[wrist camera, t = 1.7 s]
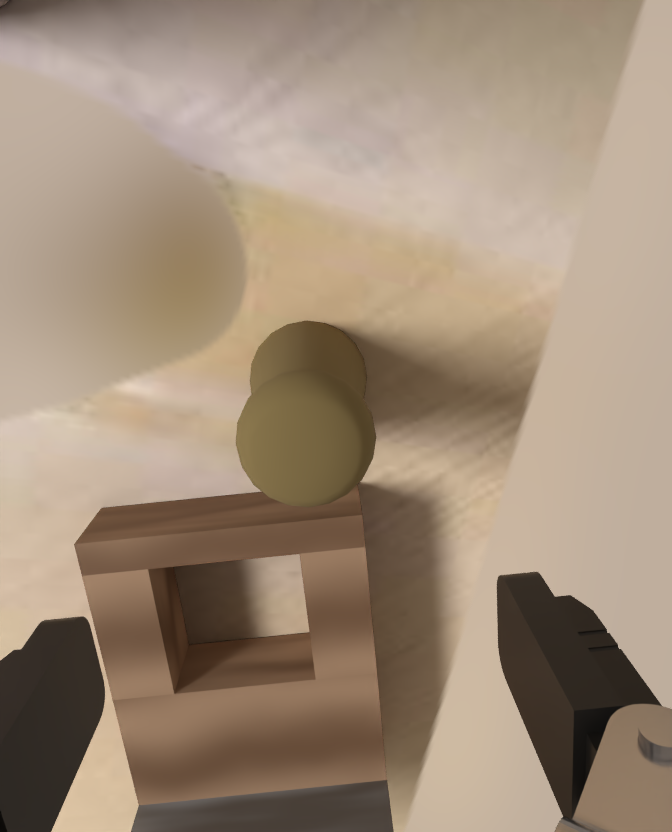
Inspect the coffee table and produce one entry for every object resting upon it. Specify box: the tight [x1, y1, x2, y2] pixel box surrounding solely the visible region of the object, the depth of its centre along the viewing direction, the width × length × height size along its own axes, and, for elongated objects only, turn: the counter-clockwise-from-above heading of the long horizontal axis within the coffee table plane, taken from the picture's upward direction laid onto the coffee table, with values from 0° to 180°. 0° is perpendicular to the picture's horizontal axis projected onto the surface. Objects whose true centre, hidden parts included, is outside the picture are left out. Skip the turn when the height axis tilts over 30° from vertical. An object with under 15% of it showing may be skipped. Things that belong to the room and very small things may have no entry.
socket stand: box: [74, 485, 393, 832], centre depth 26 cm, size 18×14×22 cm
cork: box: [236, 321, 376, 507], centre depth 27 cm, size 6×6×11 cm
